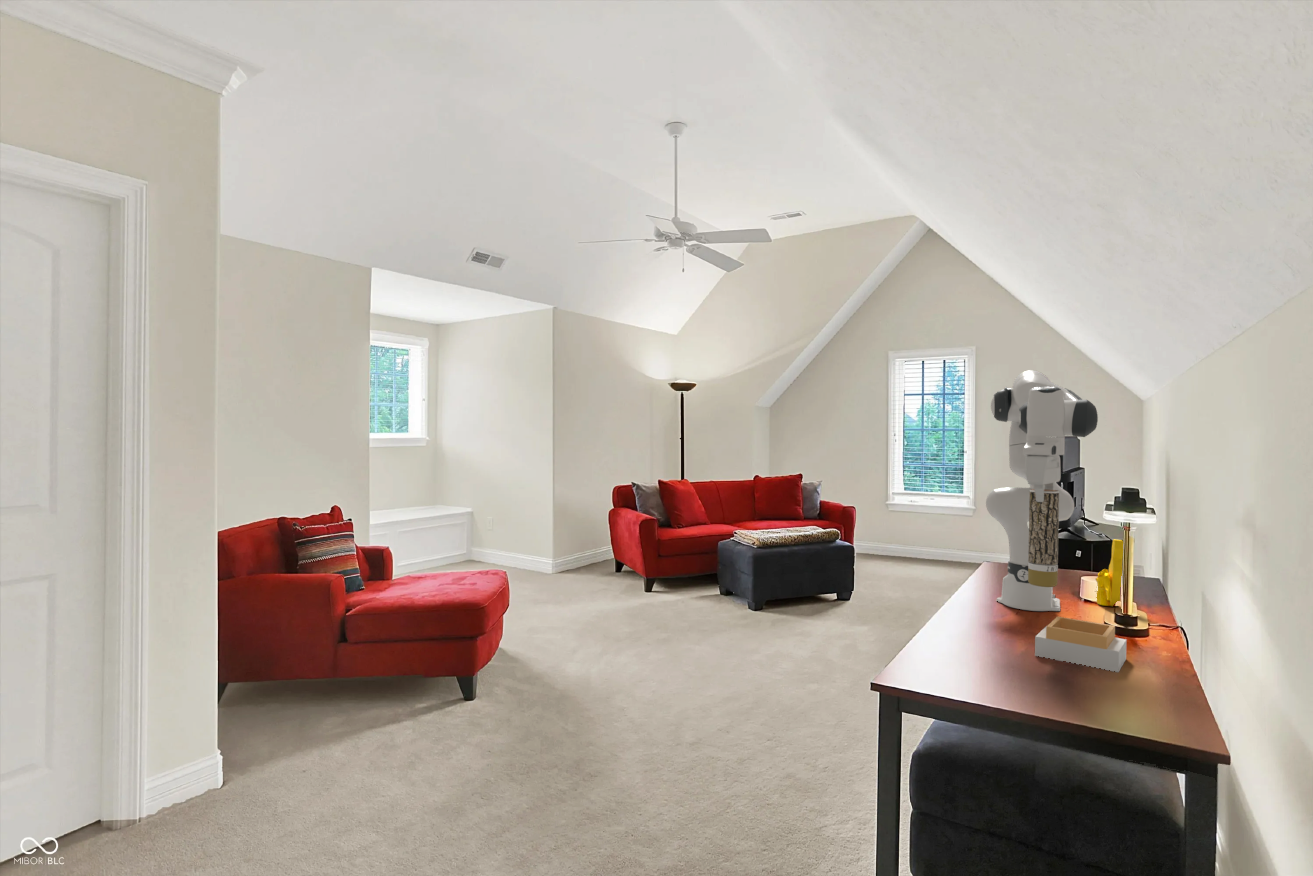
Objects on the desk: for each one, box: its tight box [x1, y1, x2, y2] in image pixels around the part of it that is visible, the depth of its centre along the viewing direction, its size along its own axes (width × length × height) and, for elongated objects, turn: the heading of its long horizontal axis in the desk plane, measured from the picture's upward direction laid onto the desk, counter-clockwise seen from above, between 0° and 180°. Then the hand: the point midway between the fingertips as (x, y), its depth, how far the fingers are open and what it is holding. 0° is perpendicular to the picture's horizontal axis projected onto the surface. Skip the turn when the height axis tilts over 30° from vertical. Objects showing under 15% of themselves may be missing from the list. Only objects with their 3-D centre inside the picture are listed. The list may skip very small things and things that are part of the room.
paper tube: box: [1028, 489, 1060, 588], centre depth 182 cm, size 7×7×25 cm
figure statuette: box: [1095, 538, 1124, 607], centre depth 230 cm, size 18×8×22 cm, turn 158°
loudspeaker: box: [1034, 616, 1128, 673], centre depth 177 cm, size 13×18×8 cm
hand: (1044, 500), depth 182 cm, fingers closed on paper tube, 7 cm apart
